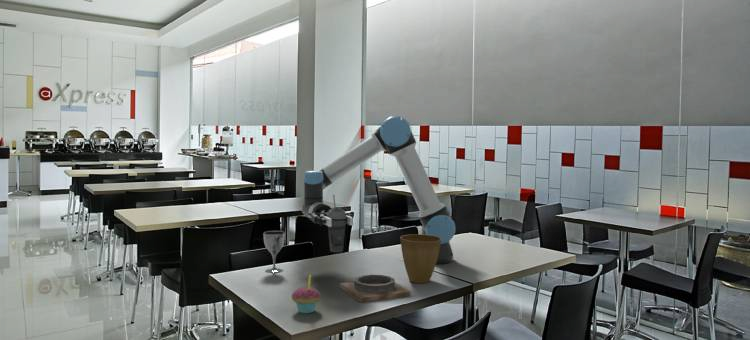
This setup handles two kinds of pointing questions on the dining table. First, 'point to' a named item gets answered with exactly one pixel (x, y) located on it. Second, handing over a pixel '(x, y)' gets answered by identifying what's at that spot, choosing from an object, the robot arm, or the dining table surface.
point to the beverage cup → (336, 228)
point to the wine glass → (274, 246)
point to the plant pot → (420, 256)
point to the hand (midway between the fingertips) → (341, 222)
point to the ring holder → (374, 288)
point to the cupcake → (306, 298)
